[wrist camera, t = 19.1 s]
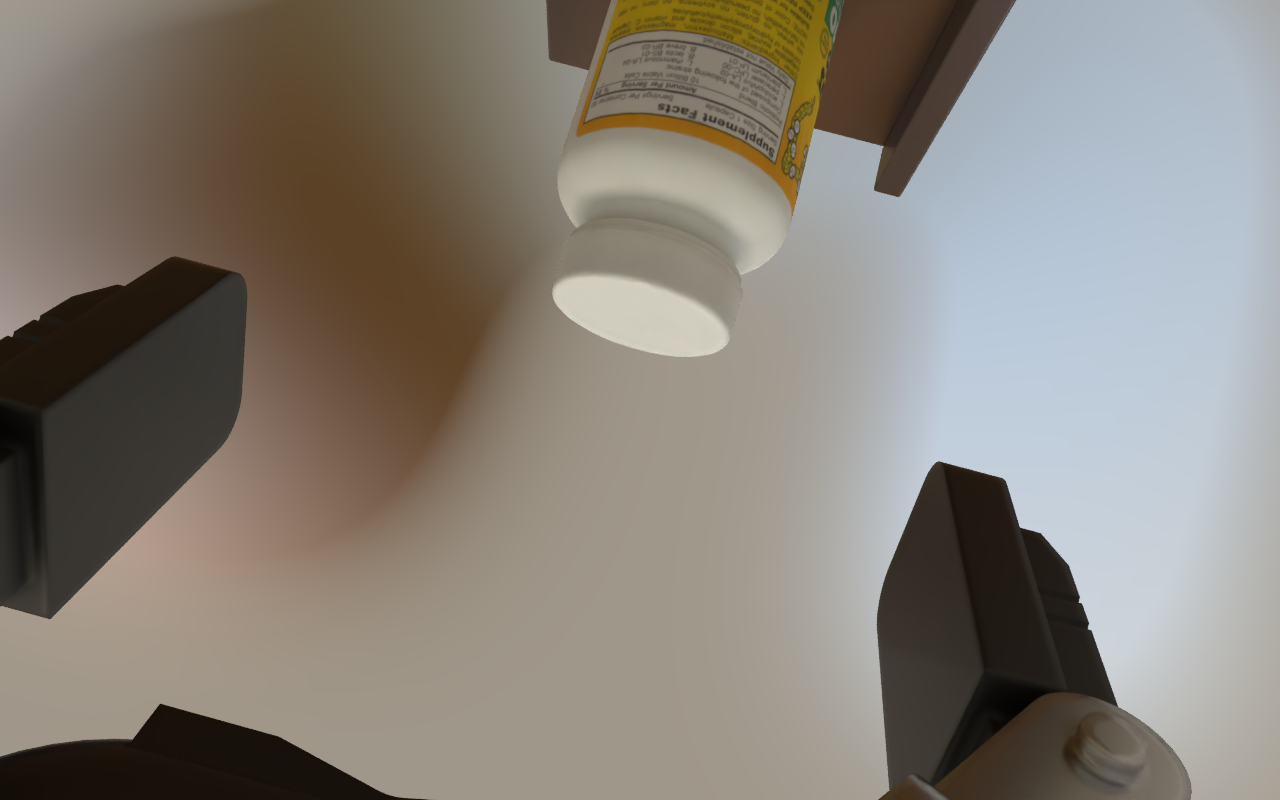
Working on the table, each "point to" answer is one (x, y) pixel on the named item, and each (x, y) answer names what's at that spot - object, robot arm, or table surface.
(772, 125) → the supplement bottle
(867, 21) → the dark wooden box
